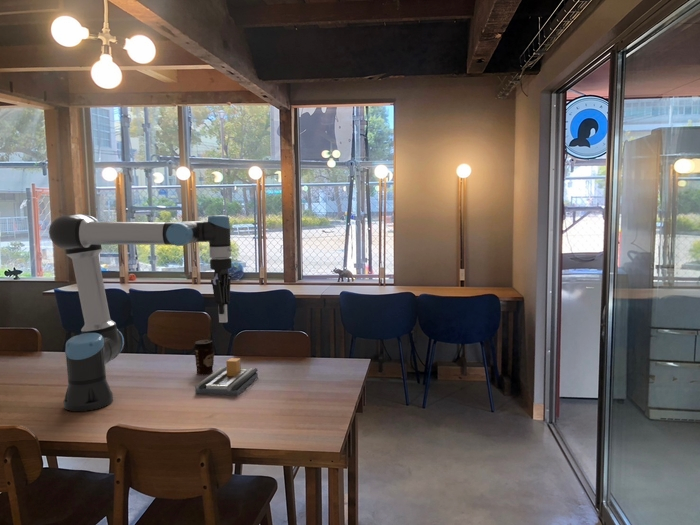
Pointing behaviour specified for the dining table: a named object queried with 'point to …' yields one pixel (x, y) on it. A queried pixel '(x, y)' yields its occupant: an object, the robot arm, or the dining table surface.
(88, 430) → the dining table surface
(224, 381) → the panel
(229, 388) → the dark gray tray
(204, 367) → the coffee cup
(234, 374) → the tan rectangular block
